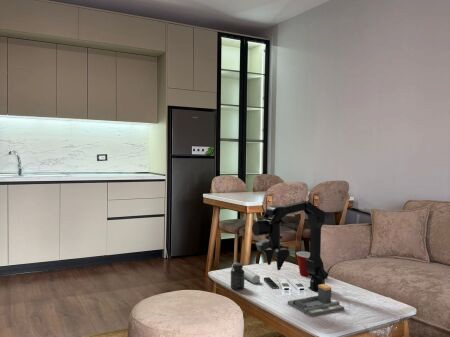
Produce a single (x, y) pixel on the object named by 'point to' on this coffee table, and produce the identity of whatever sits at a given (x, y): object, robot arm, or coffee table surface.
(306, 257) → the plastic cup
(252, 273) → the tube
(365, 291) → the coffee table surface
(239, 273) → the supplement bottle
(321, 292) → the handle
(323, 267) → the robot arm
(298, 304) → the panel
